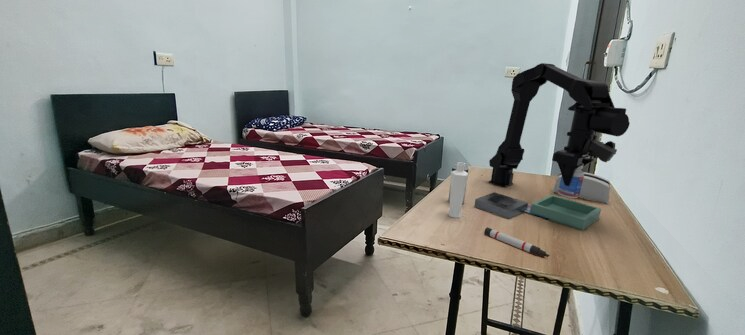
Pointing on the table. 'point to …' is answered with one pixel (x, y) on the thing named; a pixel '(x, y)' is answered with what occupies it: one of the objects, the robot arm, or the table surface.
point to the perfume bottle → (457, 190)
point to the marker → (515, 242)
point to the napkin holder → (591, 187)
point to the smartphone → (530, 213)
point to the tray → (566, 211)
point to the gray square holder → (493, 205)
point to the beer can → (454, 170)
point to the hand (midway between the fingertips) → (570, 183)
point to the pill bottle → (572, 185)
